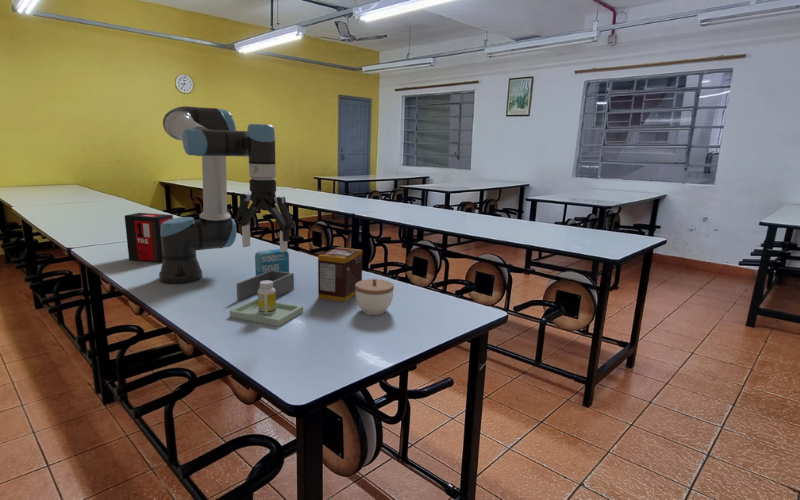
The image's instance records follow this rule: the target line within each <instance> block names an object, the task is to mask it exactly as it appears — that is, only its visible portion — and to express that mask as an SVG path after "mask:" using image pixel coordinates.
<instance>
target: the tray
mask: <svg viewBox="0 0 800 500" xmlns="http://www.w3.org/2000/svg"><path fill="white" fill-rule="evenodd" d="M303 313H304V306H303V305H297V304H291V303H285V302H280V301H276V312H274V313H272V314H260V313H259V311H258V297H257V298H254V299H252V300H250V301H248V302H246V303H243V304H241V305H239V306H237V307H234V308H233V309H231V310H229V317H230V318H234V319H238V320H243V319H244V321H248V320H249V321H248V322H253V321H254V322H255V323H258V322H259V323H260V324H263V323H264V324H265V325H269V326H274V327H282V325H284V324H286V323H287V322H289V321H291V320H293V319H294V318H296V317H298V316H300V315H301V314H303Z"/></svg>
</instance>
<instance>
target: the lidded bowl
mask: <svg viewBox="0 0 800 500" xmlns="http://www.w3.org/2000/svg"><path fill="white" fill-rule="evenodd" d="M394 288H395V285H394V283H392V282H391V281H389V280H385V279H381V278H380V279H377V278H370V279H362V281H359V282H357V283H356V284H355V295H354V296H355V300H356V304H357V306H358V307H359V309H360V310H362V311H363V313H364V314H367V315H369V316H370V315H371V316H378V315H382V314H384V313H385V311H387V310H388V309H389V307H390V306H391V304H392V302H393V298H394V297H393V296H394Z"/></svg>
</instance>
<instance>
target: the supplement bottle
mask: <svg viewBox="0 0 800 500" xmlns="http://www.w3.org/2000/svg"><path fill="white" fill-rule="evenodd" d="M260 287H261V288H260V289H259V290H258V293H257V298H258V311H259V313H260V314H272V313H274V312H276V302H277V298H276V291H275V289H274V288H273V281H270V280H265V281H261V282H260Z"/></svg>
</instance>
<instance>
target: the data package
mask: <svg viewBox="0 0 800 500" xmlns="http://www.w3.org/2000/svg"><path fill="white" fill-rule="evenodd" d="M254 263H255V266H254V267H255V276H257V275H260V274H262V273H265V272H267V271H270V270H274V271H280V272H287V273H290V255H289V252H288V251H285V252H280V248H277V249H269V250H268V249H267V250H261V251H257V252H256V253H255V254H254Z"/></svg>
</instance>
